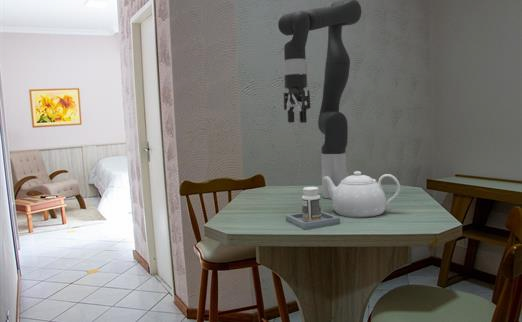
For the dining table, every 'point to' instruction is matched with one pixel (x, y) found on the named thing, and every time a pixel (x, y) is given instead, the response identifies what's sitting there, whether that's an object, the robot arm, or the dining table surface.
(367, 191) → the teapot
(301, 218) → the dish
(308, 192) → the pill bottle
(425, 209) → the dining table surface
